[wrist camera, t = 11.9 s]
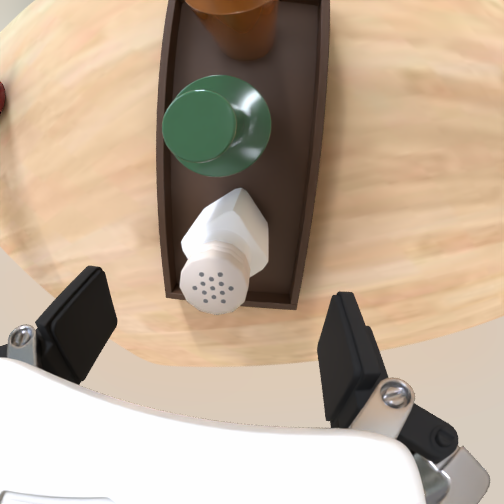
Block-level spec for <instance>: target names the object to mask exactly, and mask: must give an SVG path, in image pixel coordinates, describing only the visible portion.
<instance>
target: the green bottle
mask: <svg viewBox="0 0 504 504" xmlns="http://www.w3.org/2000/svg"><path fill="white" fill-rule="evenodd" d="M162 134H163V138H164V141H165V143H166V145H167V147H168V148H169V150H170V151H171V152H172V153H173V154H174V156H175V157H176V158H177V159H178V160H179V162H180V163H182V164H183V165H184V166H185V167H187V168H188V169H189V170H191V171H193V172H195V173H198V174H200V175H204V176H209V177H225V176H230V175H234V174H236V173H239V172H241V171H243V170H245V169H247V168H248V167H249V166H251V165H252V164H253V163H254V162H255V161H256V160H258V158H259V157H260V156H261V155H262V153H263V152H264V150H265V148H266V146H267V144H268V142H269V138H270V134H271V114H270V111H269V108H268V105H267V103H266V101H265V99H264V98H263V96H262V95H261V94H260V93H259V91H258V90H257V89H256V88H254V87H253V86H252V85H251V84H249V83H248V82H246V81H244V80H242V79H239V78H237V77H233V76H228V75H212V76H207V77H203V78H200V79H198V80H196V81H194V82H192V83H190V84H189V85H187V86H186V87H185V88H184V89H183V90H181V92H180V93H179V94H178V95H177V96H176V98H175V99H174V100H173V102H172V103H171V104H170V105H169V107H168V108H167V110H166V112H165V114H164V117H163V121H162Z"/></svg>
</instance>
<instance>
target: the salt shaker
mask: <svg viewBox="0 0 504 504" xmlns="http://www.w3.org/2000/svg"><path fill="white" fill-rule="evenodd" d="M181 244H182V250H183V252H184V254H185V255H186V257H187V258H188V260H187V262H186V264H185V265H184V267H183V269H182V271H181V277H180V289H181V291H182V293H183V295H184V297H185V299H186V301H187V302H189V303H190V304H191V305H193V306H194V307H195V308H197V309H198V310H199V311H202V312H206V313H210V314H214V315H219V314H225V313H230V312H233V311H234V310H235V309H237V308H238V307H239V306H240V305H241V304H243V303H244V302H245V298H246V295H247V291H248V287H249V278H250V277H251V276H253V275H255V274H256V273H258V272H259V271H261V270H262V269H263V268H264V267H265V266H266V264H267V263H268V223H267V221H266V220H265V218H264V217H263V215H262V213H261V212H260V210H259V209H258V207H257V206H256V204H255V203H254V201H253V200H252V198H251V196H250V195H249V193H248V192H247V191H246V190H244V189H243V188H237V189H234V190H233V191H231V192H229V193H228V194H226V195H224V196H223V197H221V198H220V199H218V200H217V201H215V202H213V203H212V204H210V205H209V206H207V207H206V208H204V209H203V211H202V212H201V213H200V215H199V216H198V218H197V219H196V220H195V222H194V223H193V225H192V226H191V228H190V229H189V230H188V232H187V233H186V235H185V236H184V238H183V239H182V241H181Z"/></svg>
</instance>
